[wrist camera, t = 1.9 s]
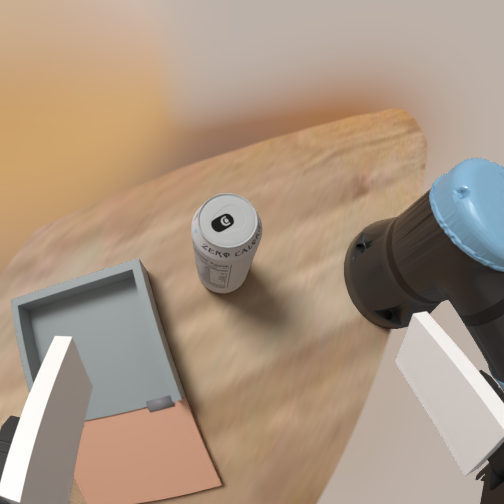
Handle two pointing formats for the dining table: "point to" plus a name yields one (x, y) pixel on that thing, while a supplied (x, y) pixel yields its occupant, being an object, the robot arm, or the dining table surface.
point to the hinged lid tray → (119, 386)
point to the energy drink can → (225, 241)
